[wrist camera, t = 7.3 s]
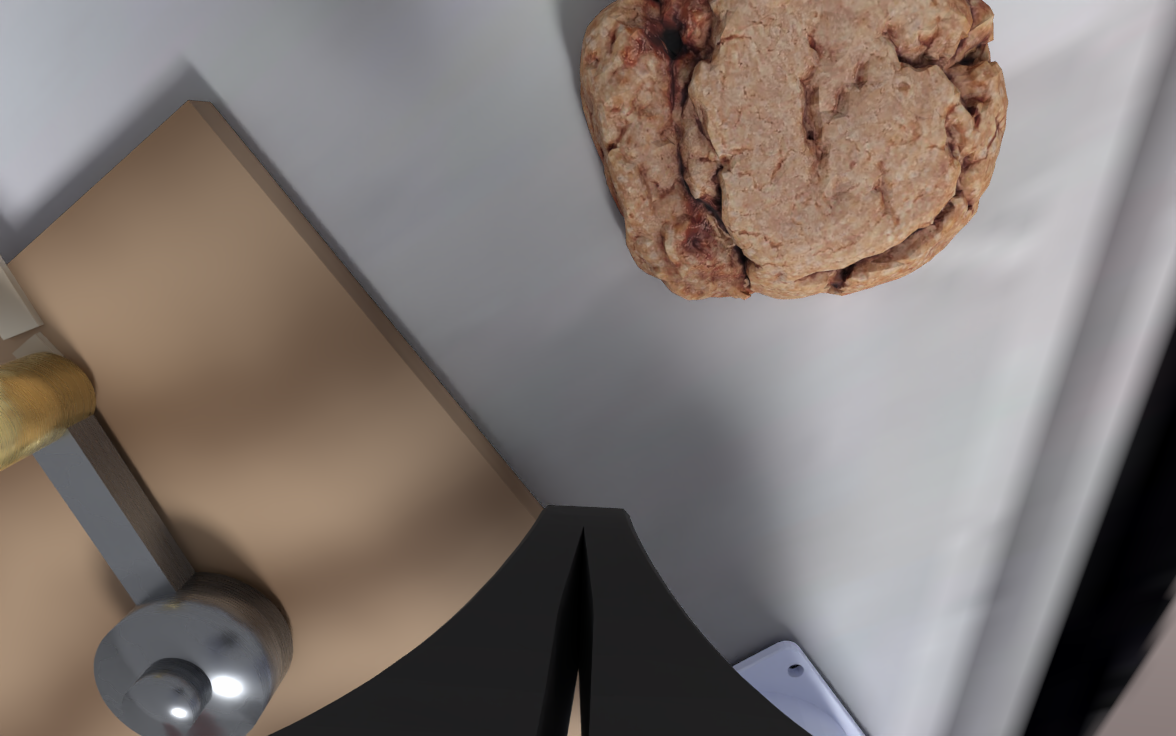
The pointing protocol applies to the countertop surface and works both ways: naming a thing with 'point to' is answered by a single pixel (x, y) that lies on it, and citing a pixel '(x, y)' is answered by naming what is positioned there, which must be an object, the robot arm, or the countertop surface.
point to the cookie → (792, 137)
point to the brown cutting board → (238, 435)
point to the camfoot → (145, 573)
